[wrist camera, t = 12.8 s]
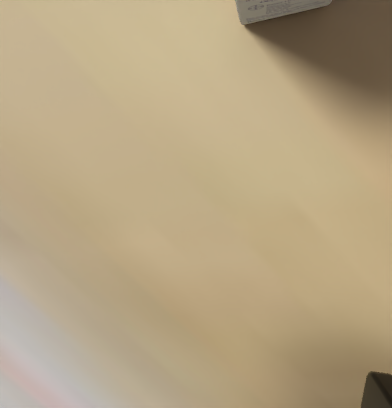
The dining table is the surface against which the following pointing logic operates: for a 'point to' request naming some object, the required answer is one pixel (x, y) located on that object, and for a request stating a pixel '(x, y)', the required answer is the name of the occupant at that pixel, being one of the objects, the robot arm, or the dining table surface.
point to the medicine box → (273, 8)
